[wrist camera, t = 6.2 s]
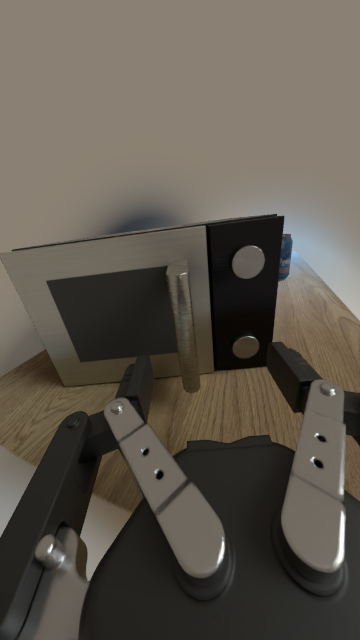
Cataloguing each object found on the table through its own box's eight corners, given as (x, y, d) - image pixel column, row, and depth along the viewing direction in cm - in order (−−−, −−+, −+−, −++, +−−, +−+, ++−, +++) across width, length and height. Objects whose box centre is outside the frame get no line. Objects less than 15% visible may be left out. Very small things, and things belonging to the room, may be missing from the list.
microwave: (272, 370, 25) (289, 212, 18) (63, 390, 27) (-8, 252, 19) (229, 302, 47) (228, 218, 40) (115, 315, 49) (92, 237, 41)
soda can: (280, 283, 55) (285, 236, 50) (258, 279, 61) (260, 237, 55) (292, 277, 59) (298, 233, 54) (270, 274, 64) (273, 234, 59)
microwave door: (223, 410, 21) (216, 226, 13) (37, 426, 22) (-70, 265, 14) (212, 364, 28) (203, 225, 20) (70, 378, 29) (10, 251, 21)
